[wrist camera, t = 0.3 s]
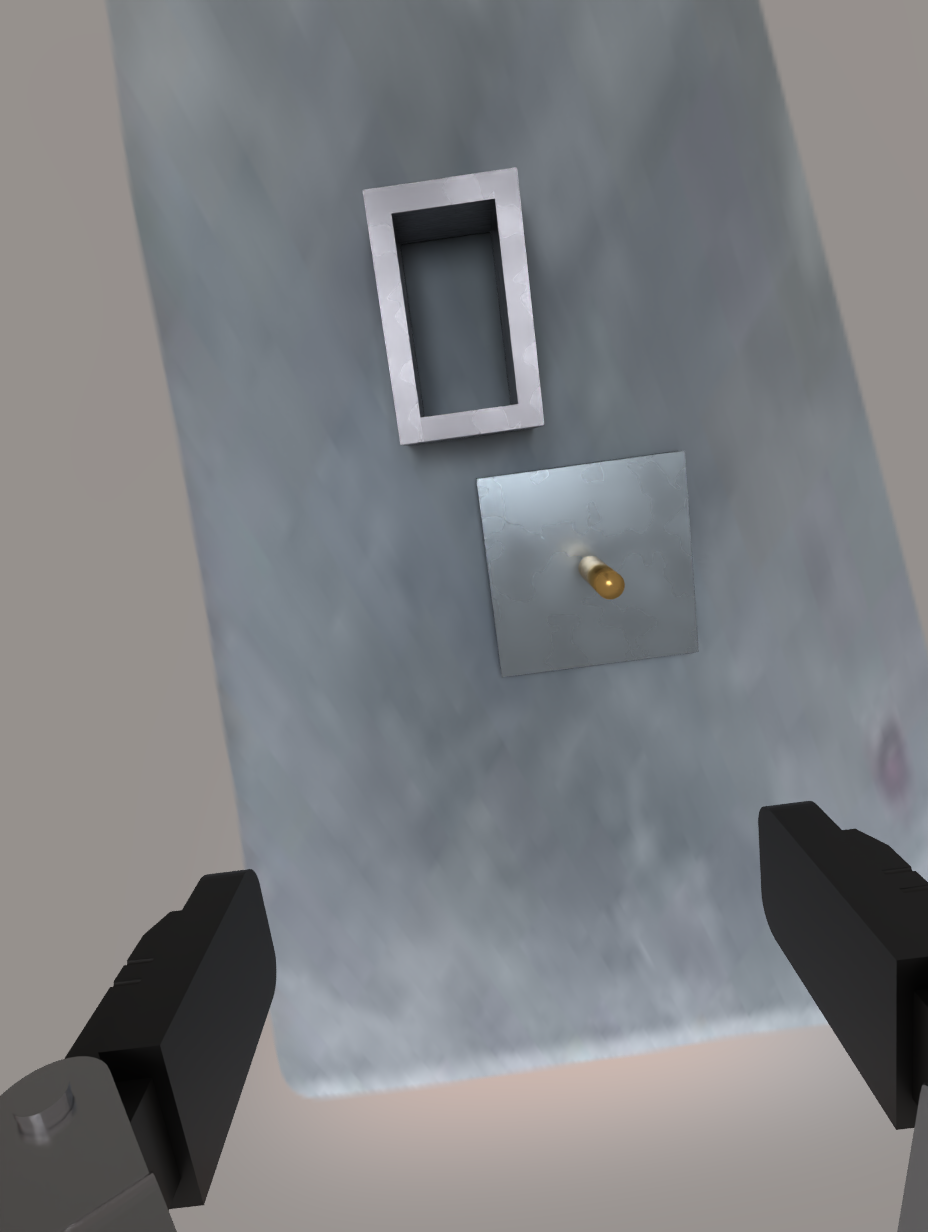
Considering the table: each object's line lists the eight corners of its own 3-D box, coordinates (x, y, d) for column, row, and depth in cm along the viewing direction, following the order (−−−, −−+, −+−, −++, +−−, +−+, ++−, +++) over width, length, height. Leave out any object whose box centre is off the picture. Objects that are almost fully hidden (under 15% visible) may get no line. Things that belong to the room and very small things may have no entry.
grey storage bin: (375, 224, 34) (362, 190, 29) (509, 204, 34) (516, 167, 29) (407, 445, 36) (400, 445, 32) (534, 428, 36) (544, 424, 31)
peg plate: (476, 478, 36) (479, 483, 30) (678, 450, 36) (721, 450, 30) (501, 671, 38) (508, 710, 33) (692, 646, 38) (734, 681, 32)
